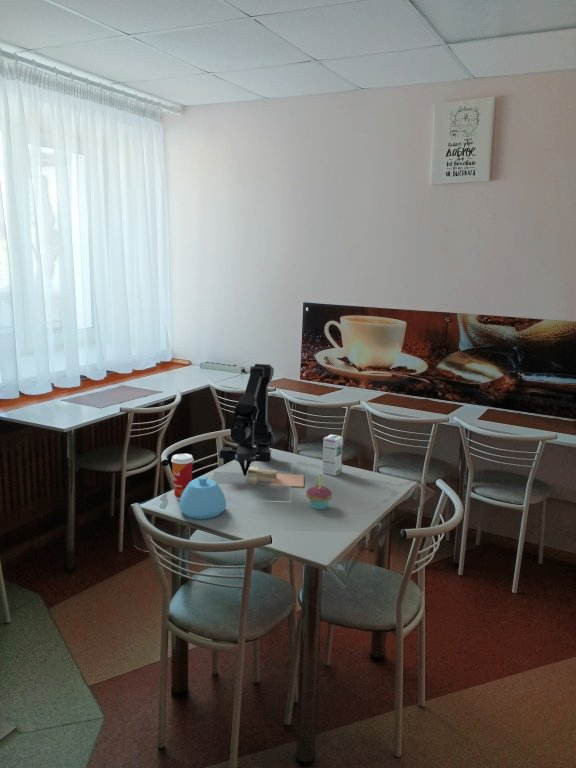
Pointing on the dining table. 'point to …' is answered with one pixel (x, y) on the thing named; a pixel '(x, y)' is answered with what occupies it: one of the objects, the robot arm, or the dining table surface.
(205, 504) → the blue dome lid
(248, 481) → the t block
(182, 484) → the paper cup
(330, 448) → the syrup box
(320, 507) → the cupcake
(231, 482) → the push board
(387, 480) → the dining table surface
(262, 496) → the dining table surface
